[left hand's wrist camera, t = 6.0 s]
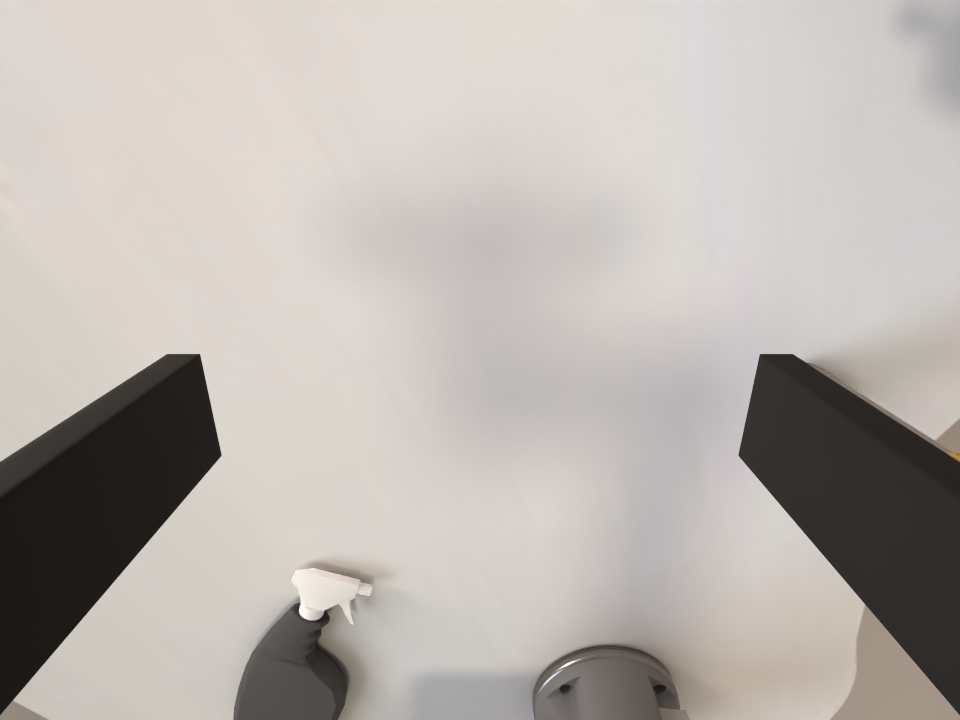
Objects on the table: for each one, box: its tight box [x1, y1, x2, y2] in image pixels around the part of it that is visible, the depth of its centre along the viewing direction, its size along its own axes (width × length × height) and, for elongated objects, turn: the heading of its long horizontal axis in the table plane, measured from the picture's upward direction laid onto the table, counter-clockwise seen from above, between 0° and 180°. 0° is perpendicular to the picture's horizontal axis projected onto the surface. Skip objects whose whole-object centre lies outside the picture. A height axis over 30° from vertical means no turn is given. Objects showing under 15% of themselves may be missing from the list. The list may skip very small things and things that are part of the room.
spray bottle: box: [234, 568, 373, 720], centre depth 53 cm, size 3×11×24 cm
